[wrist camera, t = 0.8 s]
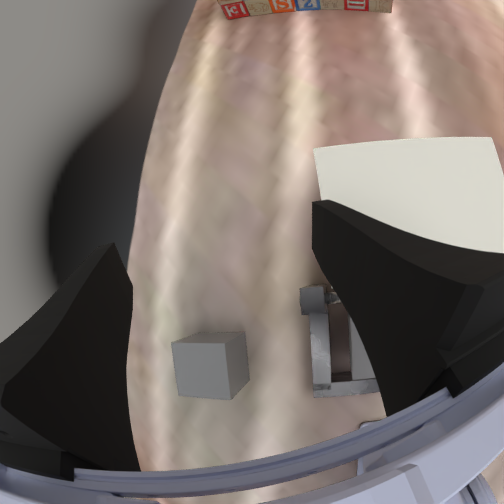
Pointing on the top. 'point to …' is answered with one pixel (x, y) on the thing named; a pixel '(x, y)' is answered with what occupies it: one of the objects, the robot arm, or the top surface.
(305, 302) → the frame
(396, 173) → the trapdoor
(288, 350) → the top surface
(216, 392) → the stone block
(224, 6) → the stack of blocks
